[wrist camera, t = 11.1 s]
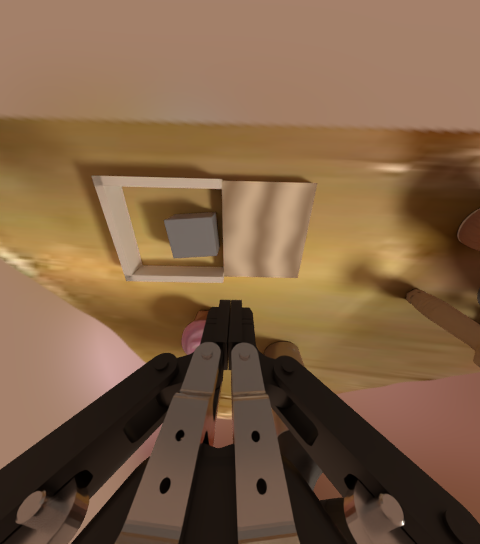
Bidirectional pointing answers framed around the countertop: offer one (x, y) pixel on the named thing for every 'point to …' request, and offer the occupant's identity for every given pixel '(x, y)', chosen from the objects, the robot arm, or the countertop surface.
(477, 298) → the tankard
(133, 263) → the box
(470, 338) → the handle
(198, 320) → the cupcake
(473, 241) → the coffee cup
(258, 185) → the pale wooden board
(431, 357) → the countertop surface
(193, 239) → the matte grey cube
